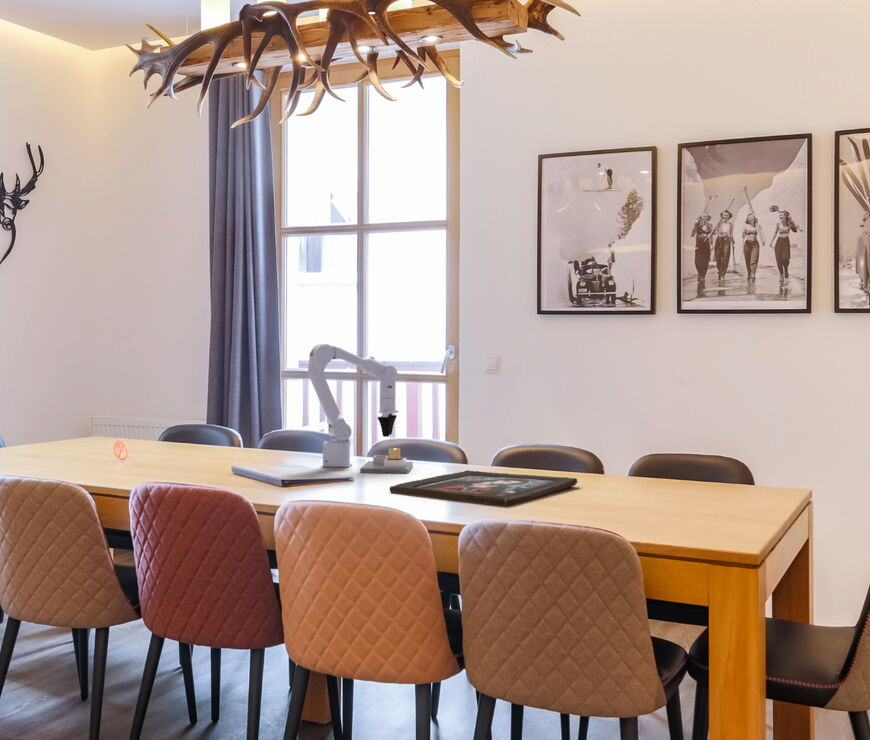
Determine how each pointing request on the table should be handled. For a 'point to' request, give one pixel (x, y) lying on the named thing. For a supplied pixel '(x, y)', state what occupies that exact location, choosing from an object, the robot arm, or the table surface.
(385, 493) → the table surface
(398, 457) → the pipe stub
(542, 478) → the religious icon
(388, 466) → the socket plate
